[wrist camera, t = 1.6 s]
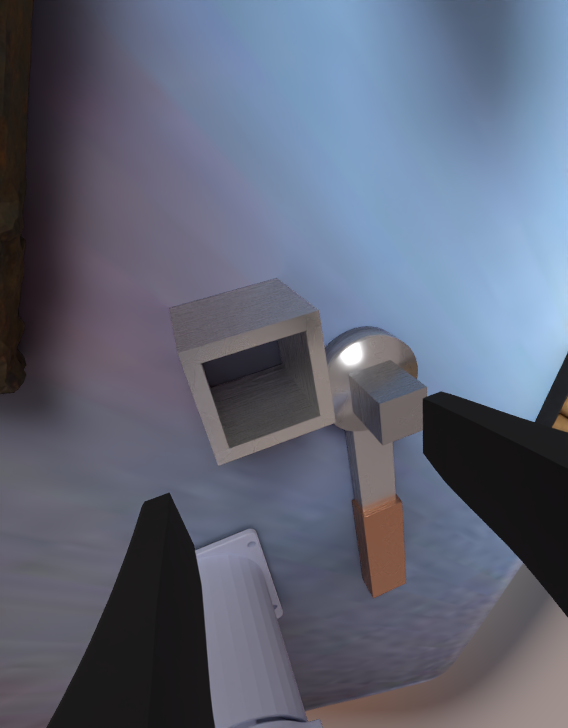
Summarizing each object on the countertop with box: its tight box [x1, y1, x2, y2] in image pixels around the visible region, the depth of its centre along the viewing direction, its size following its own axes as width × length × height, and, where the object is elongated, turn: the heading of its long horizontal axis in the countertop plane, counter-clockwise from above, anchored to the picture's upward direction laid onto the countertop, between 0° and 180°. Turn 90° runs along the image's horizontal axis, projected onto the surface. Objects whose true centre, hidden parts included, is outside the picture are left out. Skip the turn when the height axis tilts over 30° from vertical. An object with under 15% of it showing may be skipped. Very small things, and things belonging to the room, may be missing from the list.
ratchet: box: [325, 326, 427, 598], centre depth 23 cm, size 21×6×4 cm, turn 12°
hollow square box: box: [169, 278, 336, 466], centre depth 16 cm, size 5×5×5 cm
